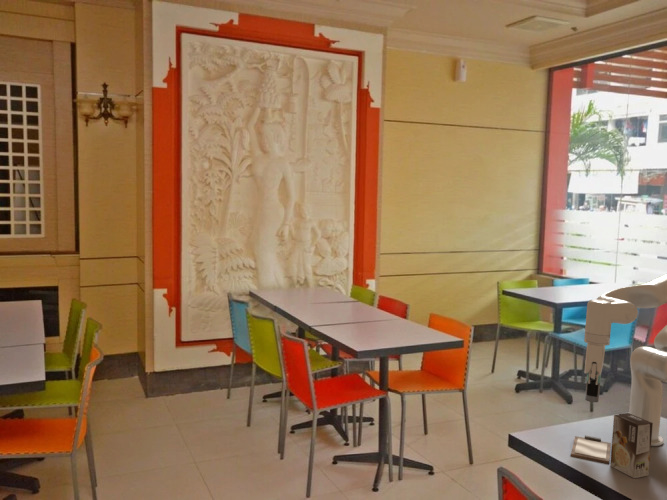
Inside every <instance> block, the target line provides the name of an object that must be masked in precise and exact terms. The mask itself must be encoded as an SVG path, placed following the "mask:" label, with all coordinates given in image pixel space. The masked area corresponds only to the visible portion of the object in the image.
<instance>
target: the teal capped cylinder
mask: <svg viewBox="0 0 667 500" xmlns="http://www.w3.org/2000/svg"><path fill="white" fill-rule="evenodd" d="M596 375H597V373H596ZM601 379H602V374H601V375H600V376H598V395H597V397H594V396H588V395H587V384H588V380H589V373H586V385H585V395H584V396H585V397H584V400H585V401H587V402H590V403H599V400H600V387H601V383H602V382H601V381H602V380H601Z"/></svg>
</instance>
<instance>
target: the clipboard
mask: <svg viewBox="0 0 667 500" xmlns="http://www.w3.org/2000/svg"><path fill="white" fill-rule="evenodd" d="M572 443H573V444H572V448H571V452H570V457H574V458H578V459H584V460H589V461H594V462H598V463H605V464H608V465H610V460H611V449H612V442H607V441H602V438H601V437H596V436H590V435H584V437H583V436H582V437H580V436H577V435H576V436H574V439H573V442H572Z"/></svg>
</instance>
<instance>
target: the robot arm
mask: <svg viewBox="0 0 667 500" xmlns="http://www.w3.org/2000/svg"><path fill="white" fill-rule="evenodd" d="M665 304H667V273H665V274H663V275H661V276H659V277H656V278H654V279H651V280H650V281H648V282H645V283H641V284H635V285H630V286H624V287H620V288H616V289H615V288H614V289H612V290H610V291H608V292H605V293H603V294H601V295H600V296H598V297H597V298H595V299H590V300H588V302H587V305H586V315H585V316H586V317H585V328H584V339H583V341H584V342H585V343H586V344H587V345H586V350H585V359H584V360H585V361H584V363H585V364H584V372H583V373H584V374H585V375H587V373H589V380H588V384H587V383H586V384H587V395H588V396H594V397H597V395H598V376H600V375H601V376H602V371H603V366H604V360H605V351H606V346H610V344H611V343H610V342H611V332H612V324H620V325H629V324H631V323H633V322H635V321H636V319H637V318H638V316H639V310H638V309H654V308H658V307H661V306H662V305H665ZM653 345H654V347H651V346H645V345H644V346H638V347H636V348H635V349H634V350H633V351H632V352H631V355H630V360H629V362H630V363H629V364H630V371H631V387H630V397H629V399H630V400H629V407H628V408H629V411H628V413H630V414H632V415H635V416H637V417H640V418H642V419H644V420H647V421H649V422H652V423H653V426H652V438H651V447H658V446H662V445H663V444H664V438H663V437H662V436H661V435H660V427H661V425H660V424H661V416H662V415H661V414H662V406H663V405H662V404H663V393H664V390H663V384H662V382H664V383H666V384H667V324H666V325H665V326H664V327H662V329H661V330H659V332H658V333H657V335H656V336H655V337H654V340H653ZM596 373H597V375H596Z"/></svg>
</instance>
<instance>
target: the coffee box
mask: <svg viewBox="0 0 667 500" xmlns="http://www.w3.org/2000/svg"><path fill="white" fill-rule="evenodd" d="M612 421H613V424H612V439H611V448H610V461H609V466H610V467H611V468H613V469H616V470H618V471H619V472H621V473H623V474H625V475H627V476H629V477H631V478H633V479H639V478H644V477H648V476H649V473H650V461H651V460H650V459H651V449H652V446H651V438H652V426H653V423H652V422H649V421H647V420H644V419H642V418H640V417H637V416H635V415H632V414H630V413H629V412H624V413H618V414H614V415H613V420H612Z"/></svg>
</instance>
